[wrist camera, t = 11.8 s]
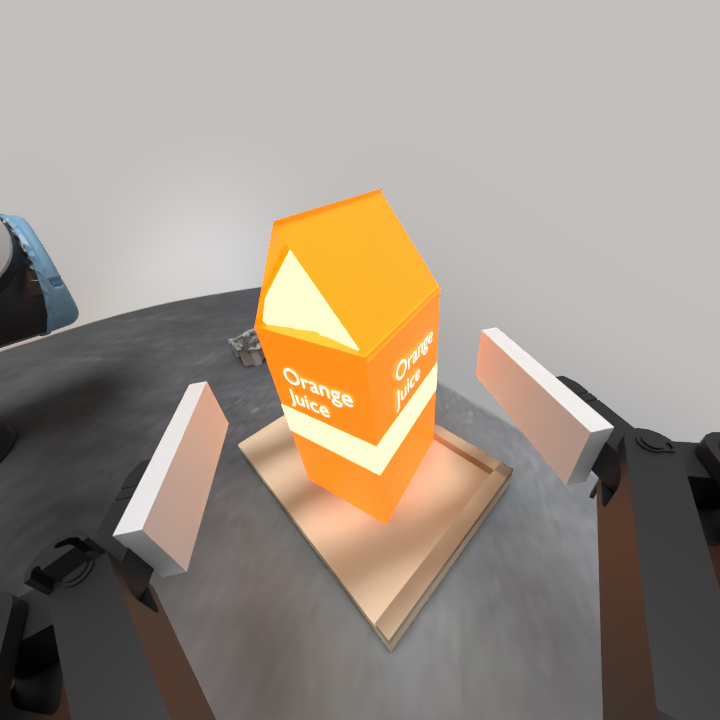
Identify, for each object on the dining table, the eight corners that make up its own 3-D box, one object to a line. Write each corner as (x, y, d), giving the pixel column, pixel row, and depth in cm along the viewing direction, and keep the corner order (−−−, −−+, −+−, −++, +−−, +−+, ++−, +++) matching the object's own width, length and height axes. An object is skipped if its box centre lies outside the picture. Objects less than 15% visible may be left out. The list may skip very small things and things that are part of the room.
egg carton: (292, 328, 52) (286, 307, 50) (312, 344, 47) (306, 321, 44) (231, 352, 47) (222, 329, 45) (245, 373, 42) (236, 348, 40)
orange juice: (435, 439, 27) (447, 184, 15) (387, 526, 21) (350, 222, 10) (362, 411, 31) (330, 191, 19) (305, 478, 25) (212, 221, 14)
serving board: (242, 454, 30) (234, 439, 28) (347, 384, 37) (345, 370, 36) (390, 652, 17) (388, 640, 16) (508, 486, 24) (512, 469, 23)
